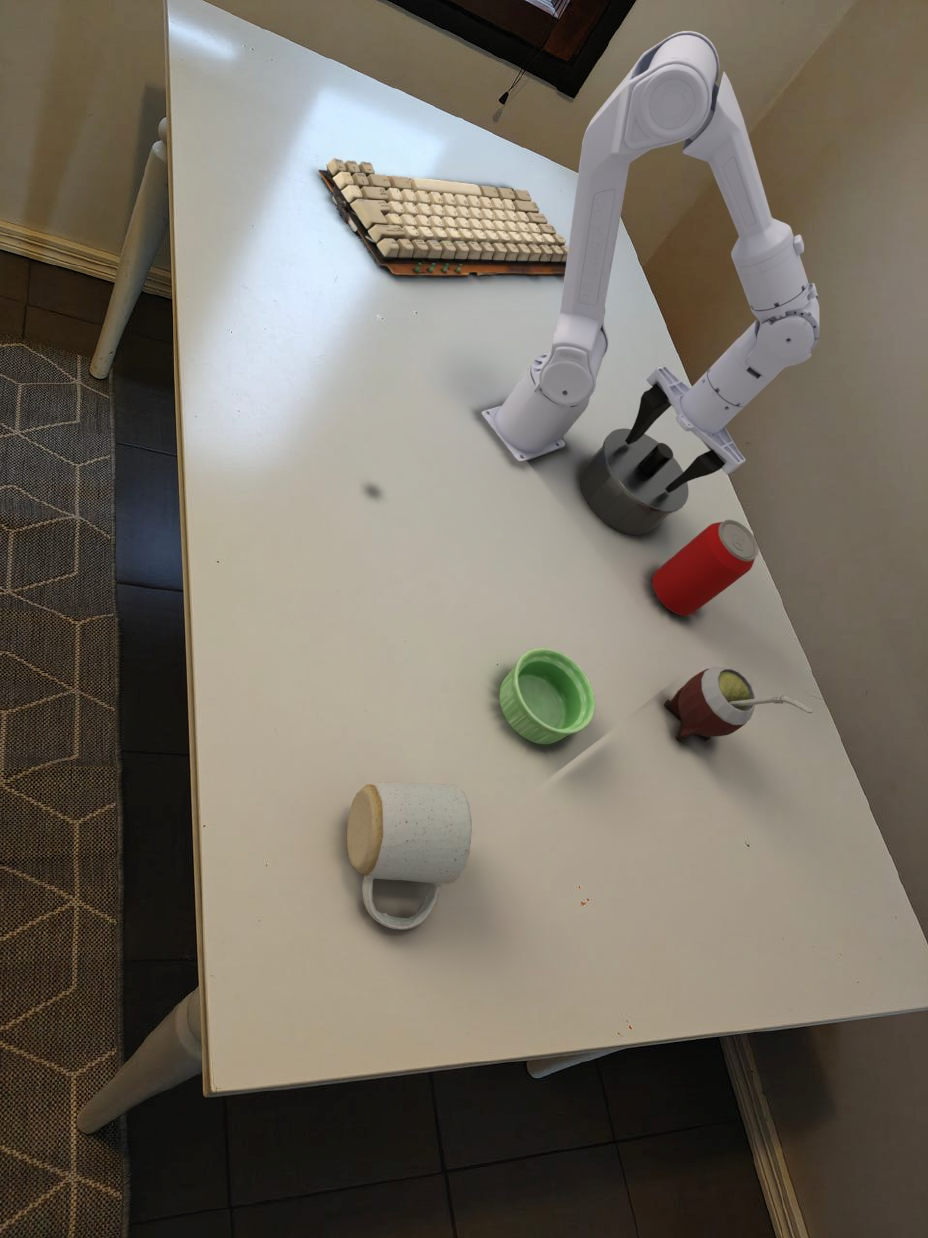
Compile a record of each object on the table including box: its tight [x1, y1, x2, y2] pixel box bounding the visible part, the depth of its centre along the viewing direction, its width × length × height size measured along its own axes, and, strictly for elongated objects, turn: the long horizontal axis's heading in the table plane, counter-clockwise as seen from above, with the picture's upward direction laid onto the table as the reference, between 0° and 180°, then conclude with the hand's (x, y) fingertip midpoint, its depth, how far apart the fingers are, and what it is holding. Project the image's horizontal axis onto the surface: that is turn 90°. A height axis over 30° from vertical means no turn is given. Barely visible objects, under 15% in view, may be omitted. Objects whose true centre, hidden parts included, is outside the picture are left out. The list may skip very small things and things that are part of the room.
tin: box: [579, 445, 671, 536], centre depth 107 cm, size 12×12×5 cm
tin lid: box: [601, 428, 690, 514], centre depth 103 cm, size 13×13×5 cm
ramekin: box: [499, 647, 596, 745], centre depth 83 cm, size 9×9×4 cm
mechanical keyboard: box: [317, 157, 569, 277], centre depth 121 cm, size 38×19×3 cm, turn 125°
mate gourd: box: [663, 666, 814, 743], centre depth 88 cm, size 8×8×15 cm
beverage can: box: [652, 519, 759, 616], centre depth 99 cm, size 7×7×12 cm
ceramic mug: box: [346, 781, 473, 931], centre depth 66 cm, size 11×8×8 cm
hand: (650, 464), depth 104 cm, fingers open, 7 cm apart
